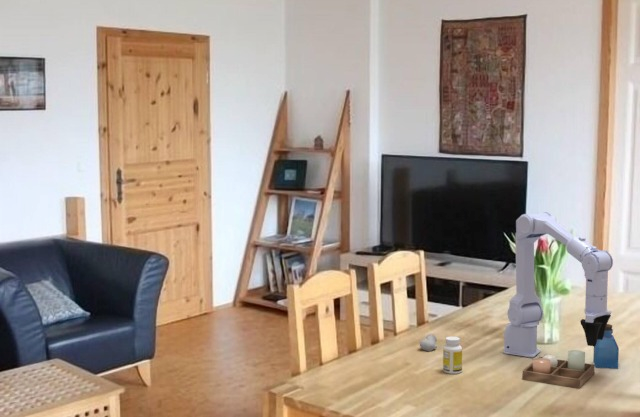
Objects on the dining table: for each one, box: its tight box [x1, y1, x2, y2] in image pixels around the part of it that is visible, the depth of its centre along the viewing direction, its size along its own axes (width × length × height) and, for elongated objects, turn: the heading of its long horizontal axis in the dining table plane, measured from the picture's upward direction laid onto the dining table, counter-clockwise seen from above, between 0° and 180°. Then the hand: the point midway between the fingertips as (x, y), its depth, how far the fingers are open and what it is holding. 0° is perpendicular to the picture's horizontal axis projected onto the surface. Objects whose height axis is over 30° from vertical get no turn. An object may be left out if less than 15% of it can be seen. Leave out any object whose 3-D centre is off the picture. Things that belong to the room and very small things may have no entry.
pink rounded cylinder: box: [532, 357, 551, 374], centre depth 241 cm, size 5×5×5 cm
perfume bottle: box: [592, 323, 620, 370], centre depth 251 cm, size 6×6×12 cm
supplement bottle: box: [442, 336, 463, 375], centre depth 247 cm, size 5×5×10 cm
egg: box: [542, 354, 558, 367], centre depth 247 cm, size 5×5×5 cm
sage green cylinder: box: [567, 349, 586, 371], centre depth 243 cm, size 5×5×6 cm
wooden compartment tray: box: [521, 356, 596, 389], centre depth 242 cm, size 16×16×2 cm
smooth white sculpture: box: [419, 333, 438, 352], centre depth 270 cm, size 4×8×5 cm
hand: (595, 342), depth 240 cm, fingers open, 7 cm apart
